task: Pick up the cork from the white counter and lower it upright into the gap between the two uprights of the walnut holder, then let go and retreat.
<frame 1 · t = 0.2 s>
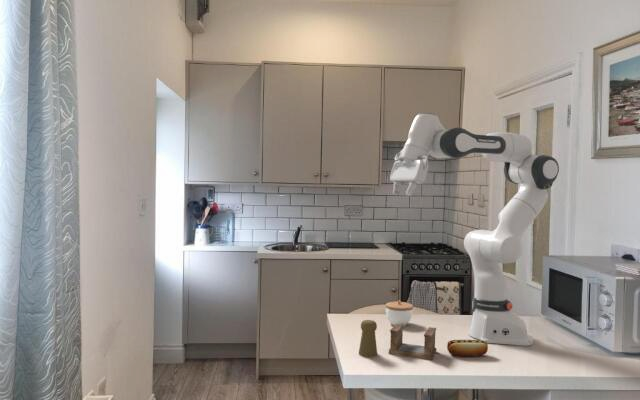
hand: (401, 194, 176), 52 cm above the countertop, tool tilted 20°, fingers open, 8 cm apart
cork: (367, 354, 166), on the countertop
holder: (412, 352, 169), on the countertop
lidded jar: (398, 324, 203), on the countertop
hot dog: (467, 356, 167), on the countertop
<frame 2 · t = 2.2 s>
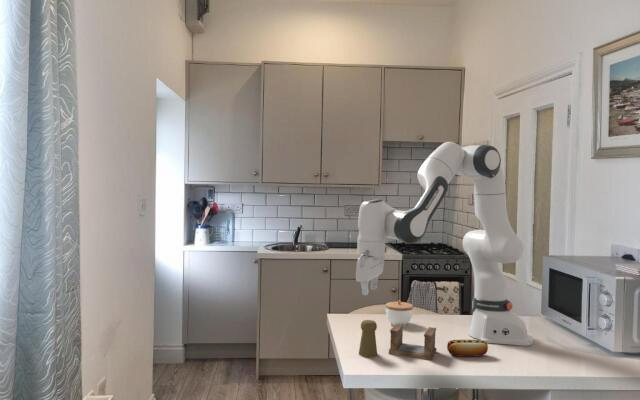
hand: (369, 291, 166), 20 cm above the countertop, tool pointing down, fingers open, 8 cm apart
nothing on the countertop moved.
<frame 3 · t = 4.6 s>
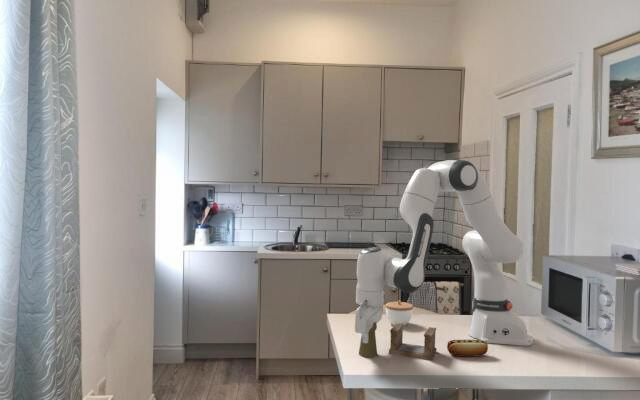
hand: (368, 340, 166), 5 cm above the countertop, tool pointing down, fingers closed on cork, 4 cm apart
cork: (368, 354, 166), on the countertop, touching gripper
everything else where it was.
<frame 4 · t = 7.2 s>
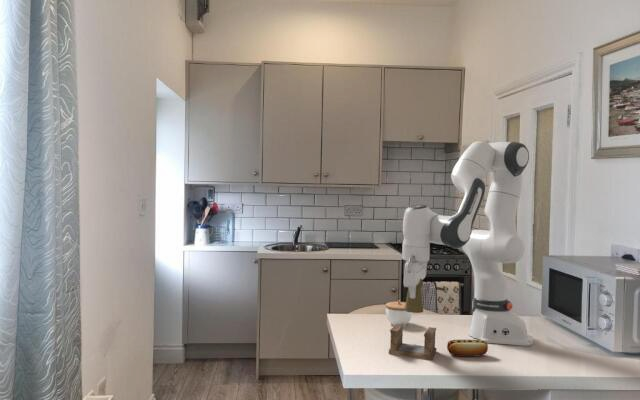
hand: (414, 296, 168), 19 cm above the countertop, tool pointing down, fingers closed on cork, 4 cm apart
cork: (413, 311, 168), point 14 cm above the countertop, touching gripper
everything else where it was.
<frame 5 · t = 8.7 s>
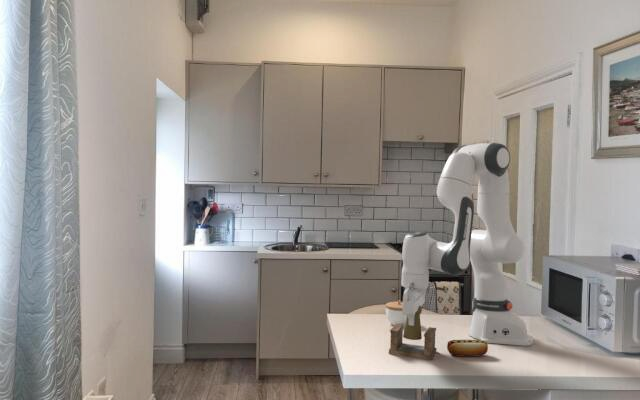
hand: (413, 322, 168), 10 cm above the countertop, tool pointing down, fingers closed on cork, 4 cm apart
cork: (412, 338, 168), point 5 cm above the countertop, touching gripper
everything else where it was.
when the fingers open (7 cm above the countertop, at t = 10.1 s): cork stays where it is, resting on holder.
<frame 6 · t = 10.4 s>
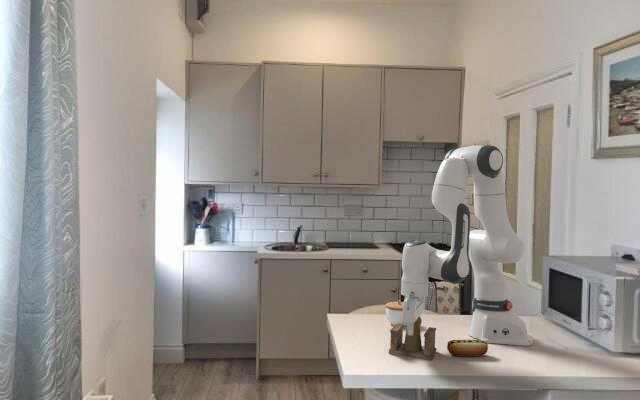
hand: (413, 331, 169), 7 cm above the countertop, tool pointing down, fingers open, 8 cm apart
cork: (412, 349, 168), point 1 cm above the countertop, touching holder
everything else where it was.
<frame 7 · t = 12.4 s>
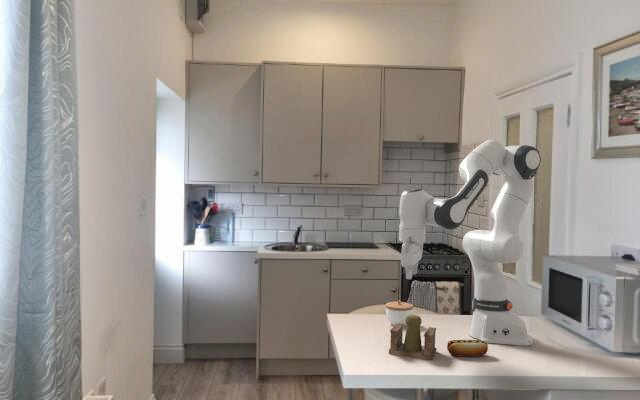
hand: (411, 276, 175), 24 cm above the countertop, tool pointing down, fingers open, 8 cm apart
nothing on the countertop moved.
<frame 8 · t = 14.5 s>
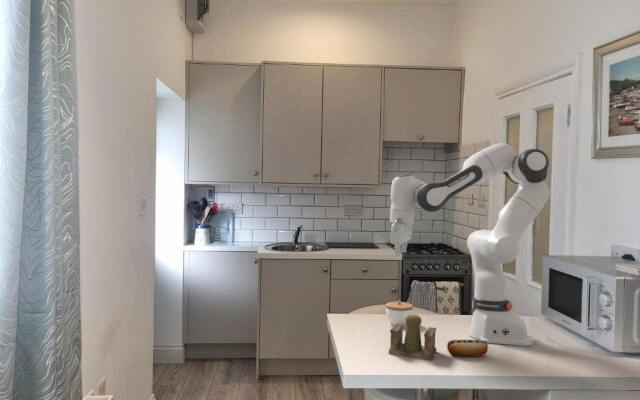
hand: (400, 254, 193), 29 cm above the countertop, tool pointing down, fingers open, 8 cm apart
nothing on the countertop moved.
at the end: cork 0.6 cm off-centre on the holder, point 1.2 cm above the holder's base; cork tilted 0°; the gripper is holding nothing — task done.
